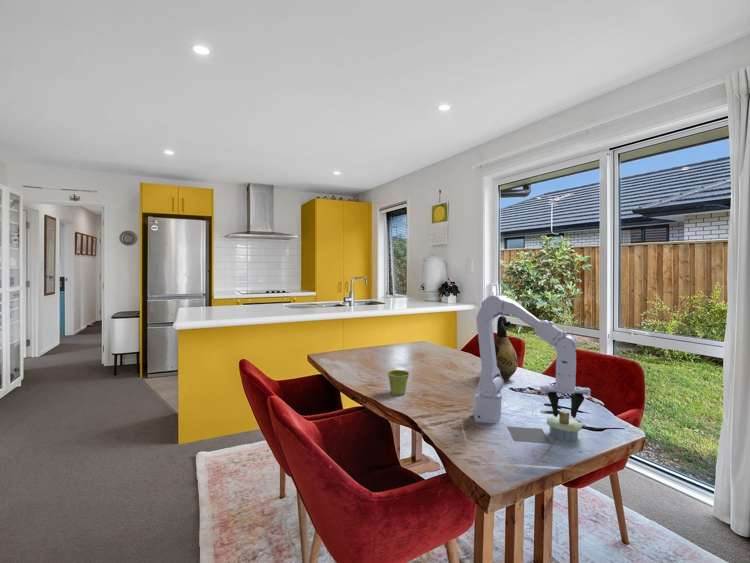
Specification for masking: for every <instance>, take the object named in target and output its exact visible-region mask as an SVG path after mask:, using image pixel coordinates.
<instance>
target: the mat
mask: <svg viewBox="0 0 750 563" xmlns="http://www.w3.org/2000/svg"><path fill="white" fill-rule="evenodd" d="M506 427H507V430H508V431H509V434H510V436H511V437H512V439H513V441H514V442H525V443H538V444H539V443H541V444H552V441H551V440H550V439H549V437H548V436H547V434H546V432H544V430H543V429H542V428H539V427H537V428H536V427H523V426H522V427H521V426H520V427H519V426H506Z"/></svg>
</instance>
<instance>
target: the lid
mask: <svg viewBox="0 0 750 563" xmlns="http://www.w3.org/2000/svg"><path fill="white" fill-rule="evenodd" d="M578 421H579V420H578ZM578 421H577V420H576V419H574V418H570V412H568V411H566V410H560V414H559V415H558V416H557V417H555V416H550V417H547V419H546V424H547V426H549V427H550V426H551V427H553V428H555V429H558V430H562V431H570V432H575V431H578V432H579V431H581V430H582V427H583V426H582V425H581V423H579V422H578Z"/></svg>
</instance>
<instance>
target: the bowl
mask: <svg viewBox="0 0 750 563" xmlns="http://www.w3.org/2000/svg"><path fill="white" fill-rule="evenodd" d="M548 434H549V435H550V436H551V437H552V438H554V439H556V440H560V441H564V442H574V441H575V442H576V441H577V440H578V439H579V431H575V432H570V431H562V430H558V429H555V428H553V427H551V426H549V432H548Z"/></svg>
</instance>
